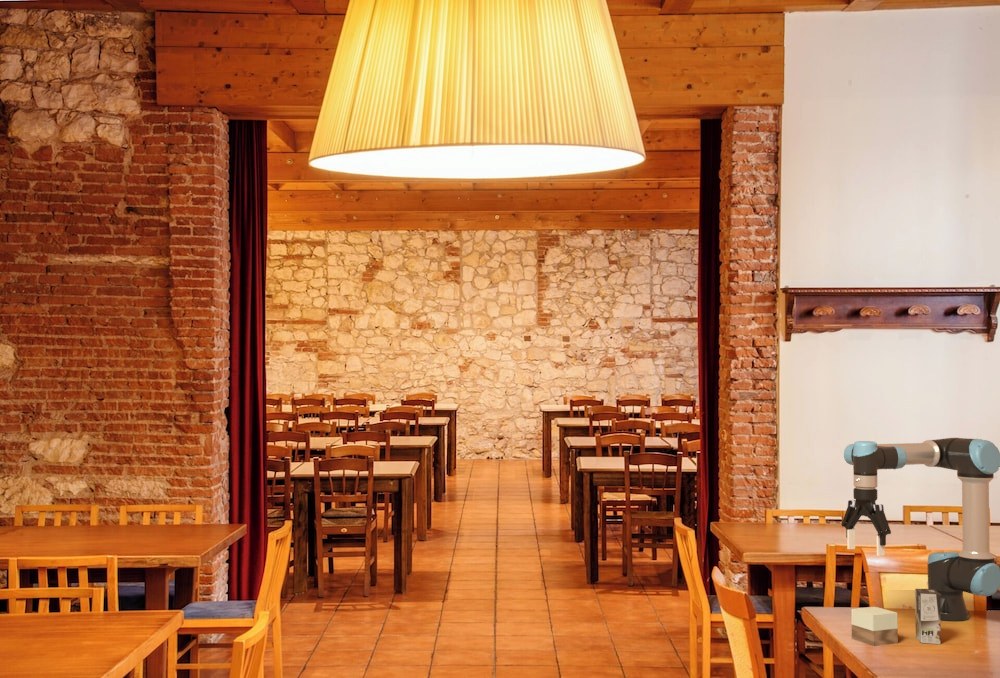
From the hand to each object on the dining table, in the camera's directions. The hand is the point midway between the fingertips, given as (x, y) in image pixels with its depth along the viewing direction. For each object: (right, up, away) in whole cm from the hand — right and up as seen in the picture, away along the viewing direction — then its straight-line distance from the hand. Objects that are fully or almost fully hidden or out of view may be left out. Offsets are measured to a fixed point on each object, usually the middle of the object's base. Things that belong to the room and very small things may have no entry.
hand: (865, 552), depth 345 cm
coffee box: (+19, -28, -4) cm, 34 cm away
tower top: (+1, -23, -5) cm, 24 cm away
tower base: (+1, -28, -6) cm, 29 cm away
